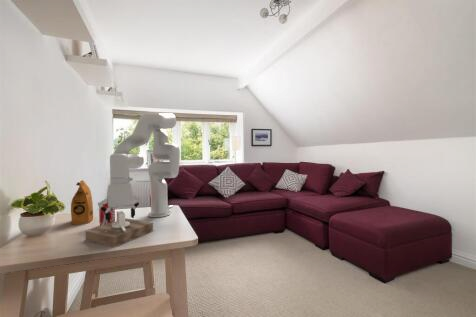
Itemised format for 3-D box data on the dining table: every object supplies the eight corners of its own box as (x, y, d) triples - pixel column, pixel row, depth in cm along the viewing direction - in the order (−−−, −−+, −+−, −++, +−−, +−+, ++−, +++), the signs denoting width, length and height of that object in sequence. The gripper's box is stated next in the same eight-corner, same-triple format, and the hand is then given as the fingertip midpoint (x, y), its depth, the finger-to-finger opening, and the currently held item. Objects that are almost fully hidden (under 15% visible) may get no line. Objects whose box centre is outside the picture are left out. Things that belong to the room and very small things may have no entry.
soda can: (108, 228, 113) (107, 204, 112) (96, 227, 114) (95, 203, 114) (118, 223, 120) (117, 200, 119) (106, 223, 121) (106, 200, 121)
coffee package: (67, 226, 116) (66, 183, 116) (74, 219, 128) (73, 180, 127) (90, 223, 120) (89, 182, 119) (95, 217, 132) (94, 179, 131)
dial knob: (111, 225, 103) (110, 212, 103) (128, 222, 107) (127, 209, 107) (115, 233, 93) (114, 218, 93) (133, 230, 97) (133, 216, 97)
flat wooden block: (126, 226, 115) (126, 217, 115) (153, 231, 108) (152, 222, 108) (85, 240, 97) (85, 230, 97) (114, 247, 90) (114, 236, 90)
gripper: (138, 179, 110) (139, 214, 110) (96, 182, 100) (97, 220, 100) (142, 180, 104) (143, 217, 104) (97, 183, 94) (98, 225, 94)
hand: (120, 219), depth 102 cm, fingers open, 9 cm apart
